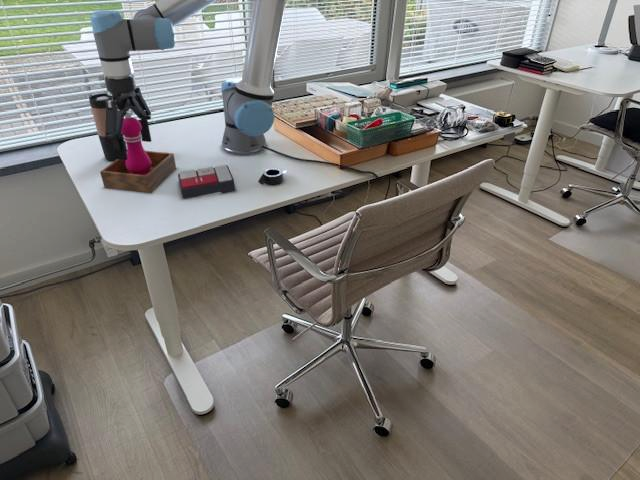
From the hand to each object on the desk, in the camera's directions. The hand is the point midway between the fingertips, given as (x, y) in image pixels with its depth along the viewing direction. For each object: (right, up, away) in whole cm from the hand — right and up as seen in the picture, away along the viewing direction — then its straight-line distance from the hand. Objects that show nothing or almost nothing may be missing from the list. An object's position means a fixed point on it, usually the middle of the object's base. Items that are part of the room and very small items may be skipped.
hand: (135, 149), depth 135 cm
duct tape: (+40, -9, +5) cm, 41 cm away
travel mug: (-13, +1, +17) cm, 22 cm away
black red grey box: (+21, -11, +1) cm, 24 cm away
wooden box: (0, -8, +5) cm, 9 cm away
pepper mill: (0, -7, +5) cm, 9 cm away
